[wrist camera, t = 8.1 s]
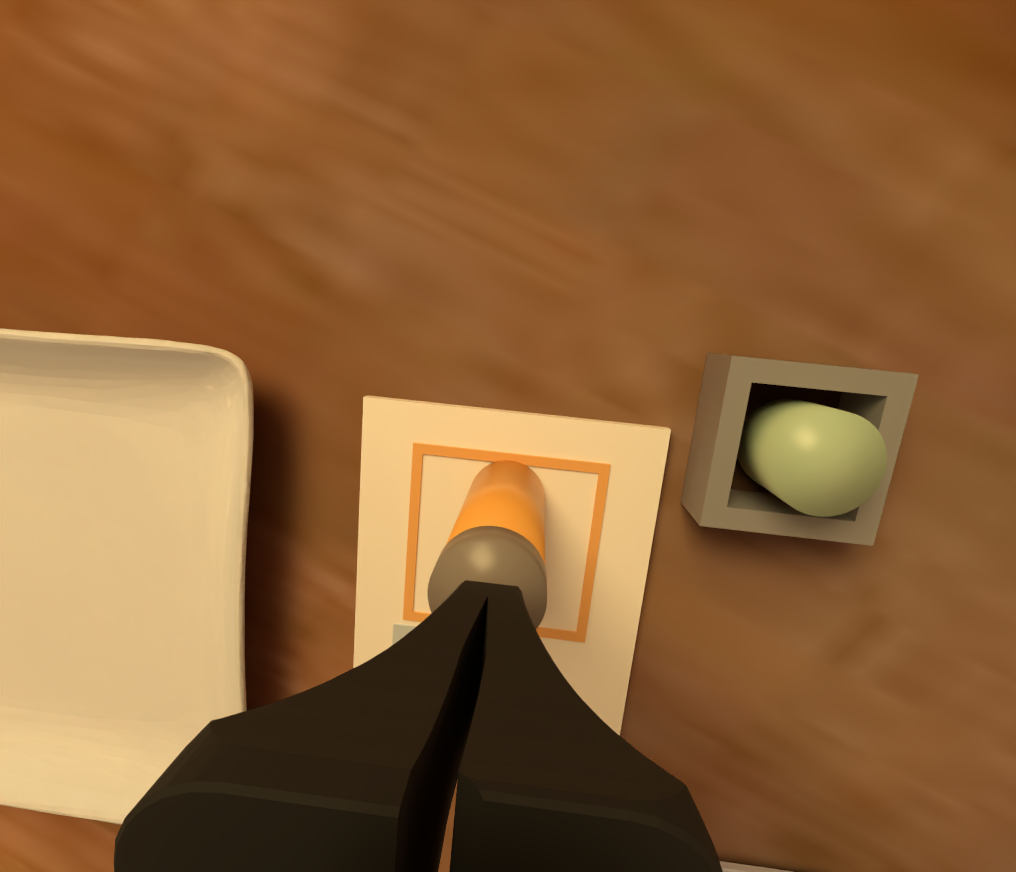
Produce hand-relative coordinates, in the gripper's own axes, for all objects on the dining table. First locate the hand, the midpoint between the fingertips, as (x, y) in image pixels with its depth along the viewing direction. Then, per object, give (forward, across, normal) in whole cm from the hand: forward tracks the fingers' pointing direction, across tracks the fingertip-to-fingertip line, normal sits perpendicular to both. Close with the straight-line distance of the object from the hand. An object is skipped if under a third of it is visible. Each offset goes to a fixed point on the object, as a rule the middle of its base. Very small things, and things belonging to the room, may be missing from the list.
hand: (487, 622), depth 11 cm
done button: (+9, -10, -3) cm, 14 cm away
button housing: (+9, -10, -3) cm, 14 cm away
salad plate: (+10, +20, +6) cm, 23 cm away
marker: (+9, 0, 0) cm, 9 cm away
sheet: (+9, 0, +4) cm, 10 cm away
